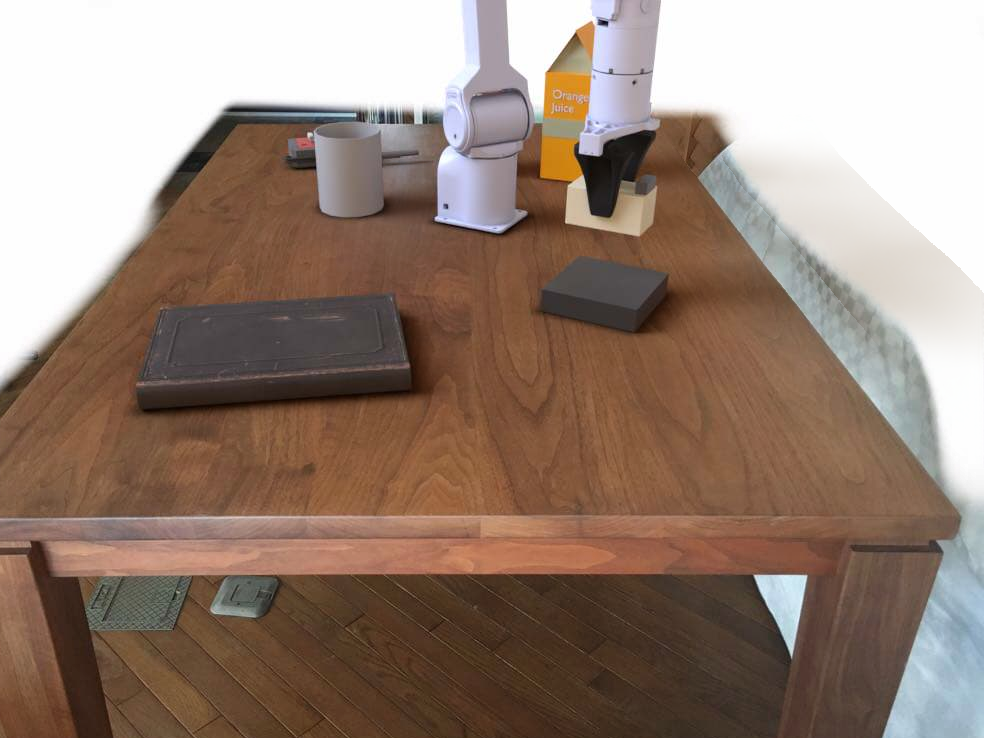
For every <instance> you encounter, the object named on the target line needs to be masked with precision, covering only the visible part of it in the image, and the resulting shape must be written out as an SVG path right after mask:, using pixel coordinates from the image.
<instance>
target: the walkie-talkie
mask: <svg viewBox="0 0 984 738" xmlns="http://www.w3.org/2000/svg"><path fill="white" fill-rule="evenodd" d="M287 147H288V148H287V149H288V155H285V156H284V157H283V160H284V161H283V162H284V163H286V164H291V166H292V167H293V168H296V169H305V168H317V165H316V152H315V140H314V133H313V132H307V137H297V138H287ZM419 155H420V152H419V150H418V149H406V150H393V151H392V150H391V151H382V160H389V159H390V160H391V159H400V158H401V157H402V158H403V157H411V156H412V157H413V156H414V157H415V156H419Z"/></svg>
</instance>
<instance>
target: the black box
mask: <svg viewBox="0 0 984 738" xmlns="http://www.w3.org/2000/svg"><path fill="white" fill-rule="evenodd" d="M669 276H670V273H669V272H664V271H659V270H655V269H650V268H645V267H639V266H635V265H629V264H624V263H619V262H615V261H609V260H605V259H600V258H598V259H597V258H594V257H589V256H583V255H579V256H578V257H576V258H575V259H574V260H573V261H572V262H571V263H569V264H568V265H567V266H566V267H565V268H564V269H563V270H562V271H561V272H559V273H558V274H556V276H555V277H553V279H551V281H549V282H548V283H547V284H546V285H545V286H543V287H542V288H541V299H540V301H541V302H540V312H542V313H543V312H544V313H547V314H552V315H556V316H561V317H565V318H570V319H573V320H578V321H582V322H587V323H590V324H595V325H600V326H604V327H609V328H613V329H618V330H620V331H621V330H622V331H626V332H630V333H635V332H636V331H637V330H638V329H639V328H640V327H641V325H642V324H643V323H644V322H645V321H646V320H647V318H649V316H650V315H651V314H652V313H653V311H654V310H655V309H656V308H657V307H658V305H659V304H660V303H661V301H662V300H663V299H664V298H665V297H666V296H667V291H668V284H669Z"/></svg>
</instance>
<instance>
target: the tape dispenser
mask: <svg viewBox="0 0 984 738" xmlns="http://www.w3.org/2000/svg"><path fill="white" fill-rule="evenodd" d="M657 192H658V185H657V175H653V174H644V175H643V176H641V177H640V178H639V179H638V180H636V181H635V182H628V181H621V185H620V189H619V193H618V198H617V203H616V206H615V209H614V212H613V214H612V216H611V217H610V218H605V217H599V216H593V215H591V213H590V209H589V203H588V196H587V190H586V184H585V180H584V176H583V175H582V176H581V177H579V178H578V179H576V180H575V181H574V182H572V181H571V183H569V184H568V185H567V191H566V207H565V221H564V224H567V225H573V226H578V227H584V228H588V229H589V228H590V229H595V230H600V231H607V232H612V233H617V234H621V235H622V234H623V235H629V236H634V237H641V236H642V235H643V234H644V233H645V232H646V231H647V230H648V229H649V228H650V227H652V225H653V224H654V218H655V209H656V201H657Z"/></svg>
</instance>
